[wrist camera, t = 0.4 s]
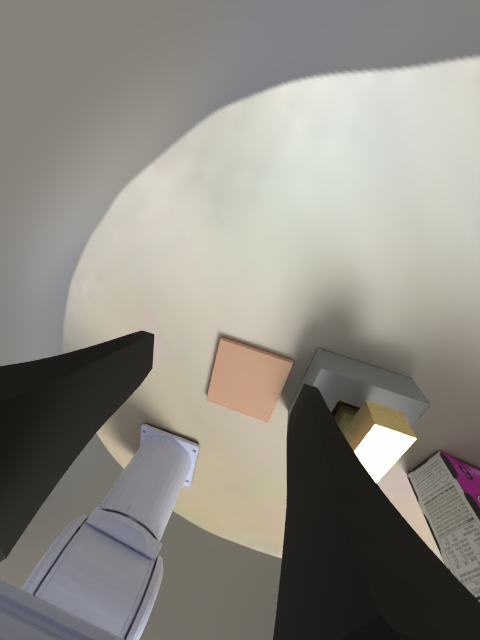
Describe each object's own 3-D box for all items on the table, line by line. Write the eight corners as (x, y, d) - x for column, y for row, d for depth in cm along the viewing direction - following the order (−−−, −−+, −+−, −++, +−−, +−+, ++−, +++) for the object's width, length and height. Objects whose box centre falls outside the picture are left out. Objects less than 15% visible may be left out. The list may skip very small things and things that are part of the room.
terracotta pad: (268, 418, 24) (267, 422, 24) (207, 396, 25) (206, 400, 25) (293, 360, 21) (293, 363, 20) (221, 336, 21) (220, 339, 21)
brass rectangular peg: (338, 428, 23) (353, 507, 17) (314, 420, 23) (321, 494, 17) (377, 367, 19) (416, 438, 13) (349, 358, 19) (375, 424, 13)
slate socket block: (365, 438, 23) (375, 468, 20) (288, 410, 23) (286, 435, 21) (411, 378, 19) (430, 404, 16) (317, 348, 20) (321, 368, 17)
